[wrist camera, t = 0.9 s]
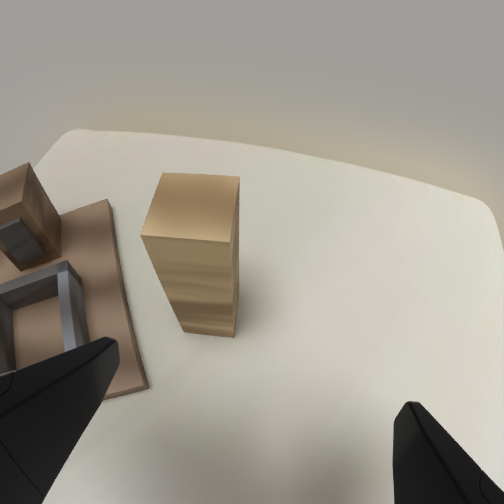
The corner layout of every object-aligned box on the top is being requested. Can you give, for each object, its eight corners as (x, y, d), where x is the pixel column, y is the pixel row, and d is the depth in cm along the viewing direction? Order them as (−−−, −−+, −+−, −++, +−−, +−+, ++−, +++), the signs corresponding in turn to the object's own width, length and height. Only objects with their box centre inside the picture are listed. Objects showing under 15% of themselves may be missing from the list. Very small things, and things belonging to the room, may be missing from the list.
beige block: (233, 337, 24) (229, 242, 13) (183, 332, 24) (140, 234, 13) (239, 285, 27) (240, 168, 16) (192, 281, 27) (165, 165, 16)
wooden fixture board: (149, 388, 22) (99, 357, 14) (-2, 419, 18) (-75, 395, 10) (111, 208, 31) (83, 137, 23) (-6, 252, 27) (-49, 199, 19)
